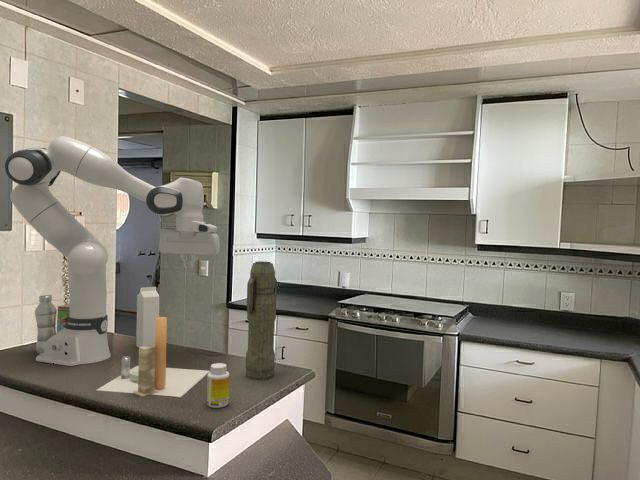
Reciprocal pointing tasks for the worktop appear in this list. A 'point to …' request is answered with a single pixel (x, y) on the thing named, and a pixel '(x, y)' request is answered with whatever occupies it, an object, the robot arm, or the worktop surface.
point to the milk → (146, 316)
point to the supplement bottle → (218, 386)
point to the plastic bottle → (45, 321)
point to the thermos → (261, 321)
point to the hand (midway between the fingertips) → (188, 267)
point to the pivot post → (125, 367)
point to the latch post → (146, 371)
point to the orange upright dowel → (158, 353)
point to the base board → (175, 386)
